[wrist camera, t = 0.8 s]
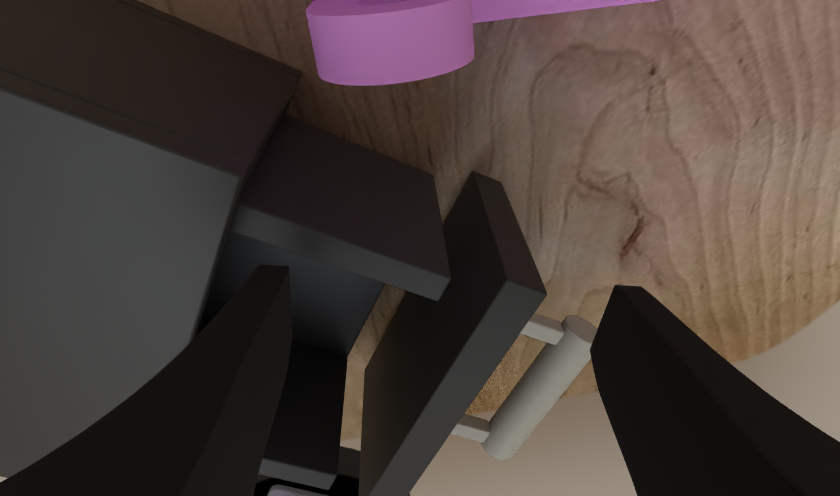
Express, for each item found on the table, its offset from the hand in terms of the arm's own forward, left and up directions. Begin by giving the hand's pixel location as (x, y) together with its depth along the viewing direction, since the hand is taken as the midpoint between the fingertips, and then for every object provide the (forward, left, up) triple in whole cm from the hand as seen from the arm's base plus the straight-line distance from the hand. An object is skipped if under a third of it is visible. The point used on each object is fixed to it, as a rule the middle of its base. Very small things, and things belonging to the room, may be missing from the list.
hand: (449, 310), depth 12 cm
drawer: (-5, +1, -8) cm, 9 cm away
